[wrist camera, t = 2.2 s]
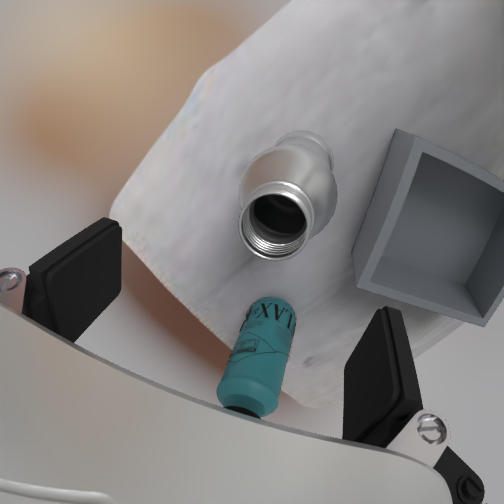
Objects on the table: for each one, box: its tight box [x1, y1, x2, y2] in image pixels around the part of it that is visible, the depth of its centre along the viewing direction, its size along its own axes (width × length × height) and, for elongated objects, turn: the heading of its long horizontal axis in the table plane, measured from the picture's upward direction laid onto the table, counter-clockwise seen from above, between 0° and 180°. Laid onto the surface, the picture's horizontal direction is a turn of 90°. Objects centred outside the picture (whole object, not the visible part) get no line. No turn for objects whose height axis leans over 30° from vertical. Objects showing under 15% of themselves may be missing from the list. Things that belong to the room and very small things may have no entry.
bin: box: [352, 129, 504, 327], centre depth 28 cm, size 15×17×8 cm
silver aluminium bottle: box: [238, 131, 337, 261], centre depth 24 cm, size 6×7×20 cm
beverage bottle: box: [217, 297, 296, 419], centre depth 34 cm, size 6×7×20 cm
